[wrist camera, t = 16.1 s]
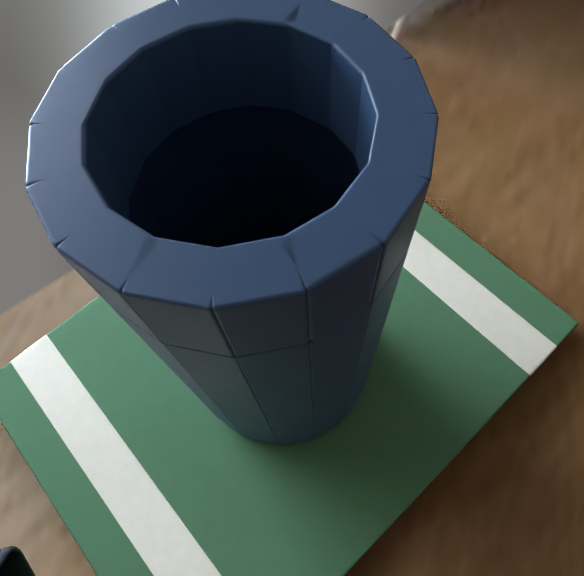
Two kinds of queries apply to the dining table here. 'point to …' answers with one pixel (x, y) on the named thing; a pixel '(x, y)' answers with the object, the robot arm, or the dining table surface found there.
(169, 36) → the jar
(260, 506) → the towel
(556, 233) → the dining table surface
